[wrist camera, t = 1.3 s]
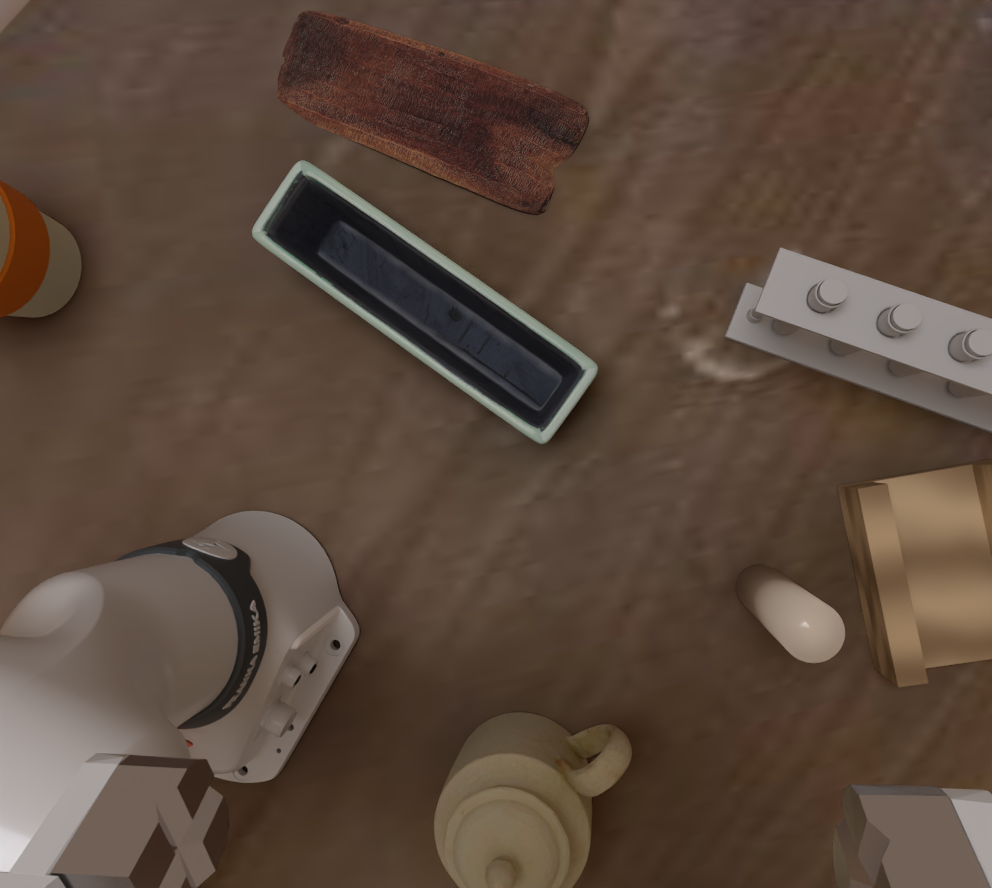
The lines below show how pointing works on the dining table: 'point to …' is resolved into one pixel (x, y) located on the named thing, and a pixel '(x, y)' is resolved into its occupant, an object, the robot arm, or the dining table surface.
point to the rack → (923, 567)
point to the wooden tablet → (431, 108)
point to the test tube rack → (871, 336)
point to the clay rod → (791, 614)
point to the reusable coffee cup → (34, 259)
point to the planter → (425, 302)
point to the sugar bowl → (525, 801)
